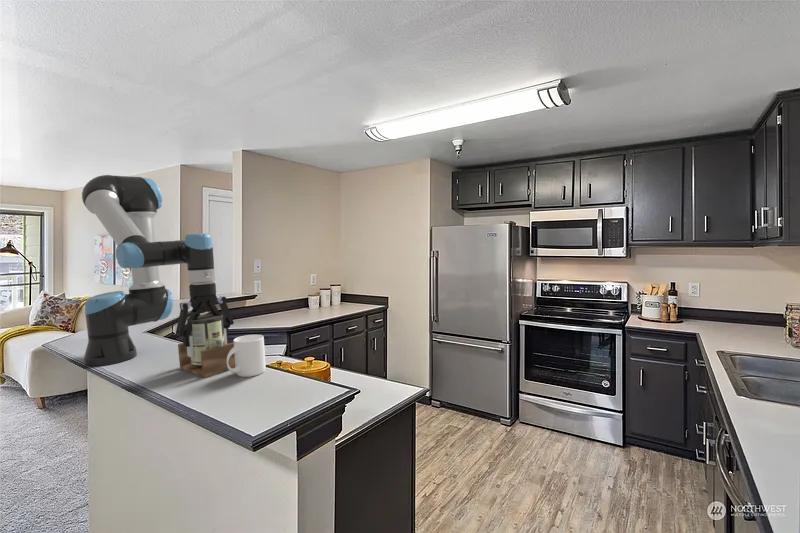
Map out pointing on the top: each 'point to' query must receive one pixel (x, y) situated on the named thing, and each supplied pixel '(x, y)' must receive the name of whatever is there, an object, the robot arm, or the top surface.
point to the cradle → (208, 360)
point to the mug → (248, 355)
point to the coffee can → (205, 334)
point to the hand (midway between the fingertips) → (208, 351)
